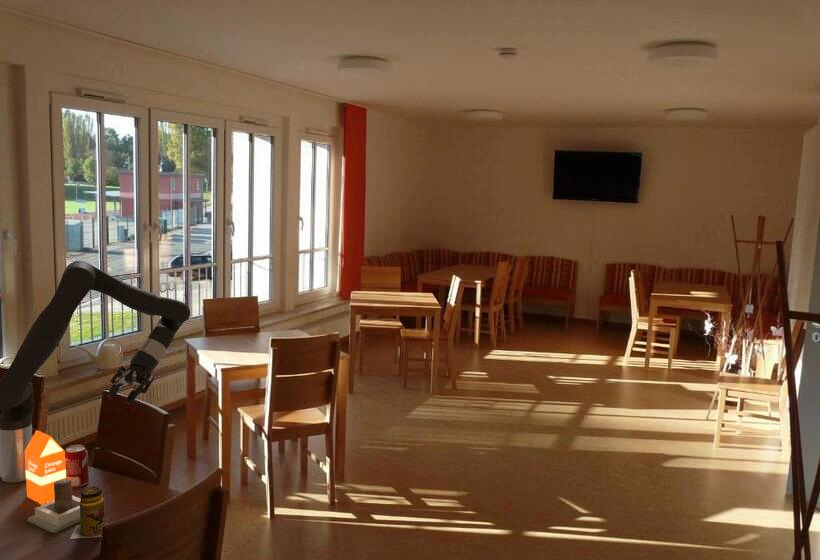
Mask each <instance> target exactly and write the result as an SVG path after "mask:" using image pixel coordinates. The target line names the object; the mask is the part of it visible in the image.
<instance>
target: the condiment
mask: <svg viewBox="0 0 820 560" xmlns="http://www.w3.org/2000/svg"><path fill="white" fill-rule="evenodd" d="M80 499H81V501H80V522H79V523H80V524H77V525H75V526H74V528H73V531H72V534H71V535H70V537H69V539H70V540H73V539H74V540H75V539H89V538H90V539H91V538H100V537H101V527H102V526H104V525H105V499H104V497H103V491H102V488H101V487H98V486H89V487H86V488H84V489H82V491H81V492H80ZM107 523H108V522H106V524H107ZM101 538H102V537H101Z"/></svg>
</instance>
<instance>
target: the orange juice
mask: <svg viewBox="0 0 820 560" xmlns="http://www.w3.org/2000/svg"><path fill="white" fill-rule="evenodd" d="M24 452H25V466H26V480H25V481H26V496H27V498H29V499H31V500H32V501H34V502H36V503H37V502H38V503H37V504H40V506H41V505H43V504H45V503H48V502H51V501H53V500H55V497H54V482H55V481H57V480H61V479H66V469H65V452H66V449H65V450H64V449H63V447H61V446H60V444H58V443H57V442H56V440H55V439H54V438H53V437H52V436H51V435H49V434H46V433H44V432H42V431H41V430H40V431H39V430H37V429H36V430H35V432H34V434H32V439H31V440H30V442H29V444H28V446H27V448H26V449H25V451H24Z"/></svg>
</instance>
